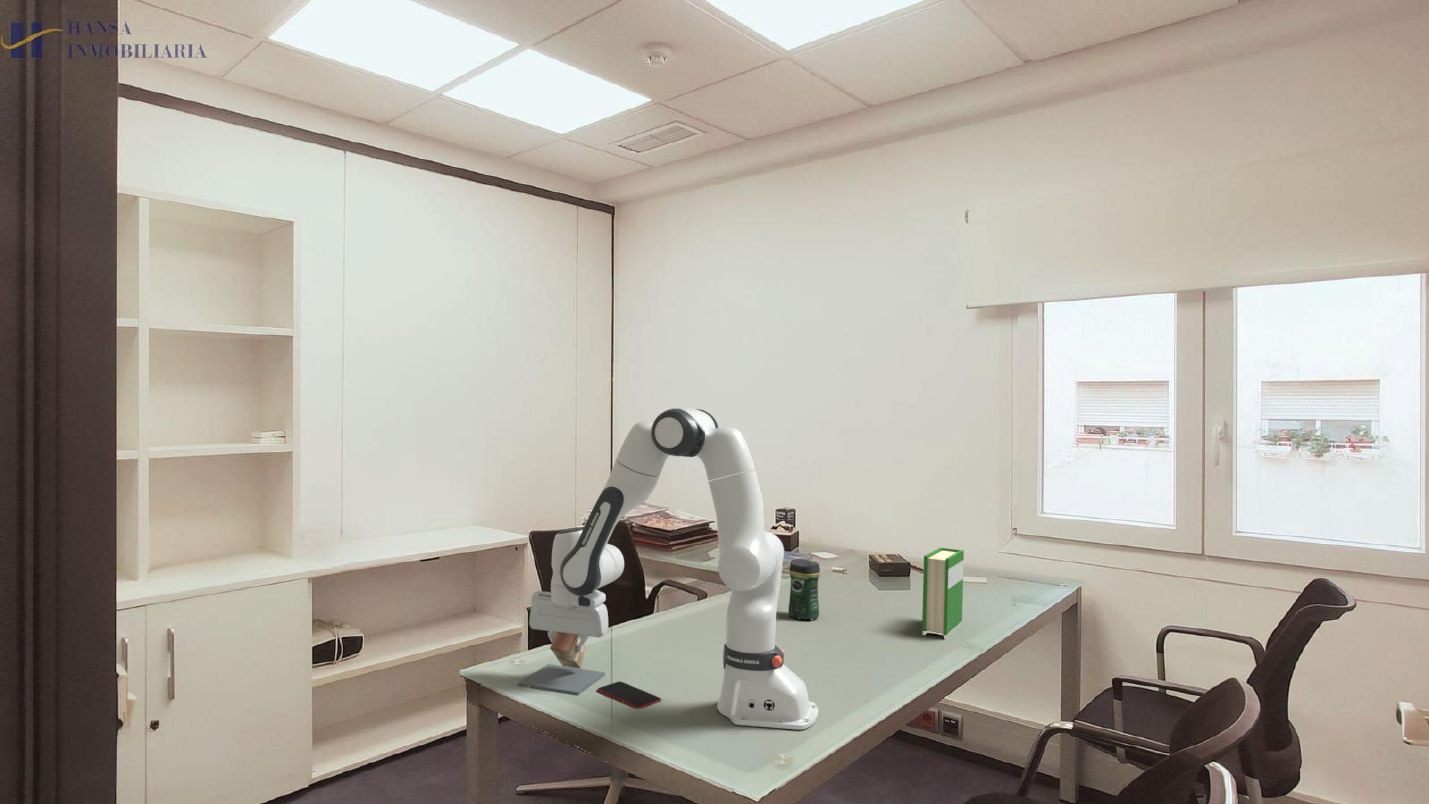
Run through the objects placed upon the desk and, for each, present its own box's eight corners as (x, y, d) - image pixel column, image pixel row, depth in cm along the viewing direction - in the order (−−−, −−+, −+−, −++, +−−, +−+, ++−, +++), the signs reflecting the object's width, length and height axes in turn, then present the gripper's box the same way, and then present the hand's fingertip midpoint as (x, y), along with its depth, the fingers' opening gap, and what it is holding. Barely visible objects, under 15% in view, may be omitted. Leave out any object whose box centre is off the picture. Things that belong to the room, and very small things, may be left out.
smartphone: (638, 707, 167) (595, 688, 177) (638, 711, 167) (595, 692, 177) (662, 698, 172) (619, 680, 183) (662, 702, 172) (619, 684, 183)
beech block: (587, 649, 190) (575, 631, 184) (580, 668, 187) (568, 650, 181) (569, 647, 192) (557, 629, 186) (562, 666, 188) (550, 648, 182)
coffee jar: (823, 618, 243) (824, 561, 243) (807, 622, 238) (808, 564, 238) (799, 612, 250) (801, 556, 250) (784, 616, 245) (785, 558, 245)
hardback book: (946, 639, 224) (948, 559, 224) (921, 635, 228) (923, 556, 228) (961, 626, 239) (963, 550, 239) (938, 621, 243) (940, 547, 243)
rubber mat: (605, 674, 188) (605, 672, 188) (578, 694, 174) (578, 692, 174) (548, 666, 193) (548, 663, 193) (517, 685, 179) (518, 682, 179)
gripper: (525, 592, 186) (523, 649, 186) (600, 601, 179) (598, 659, 179) (538, 587, 192) (537, 641, 192) (611, 595, 185) (610, 651, 185)
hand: (567, 650), depth 185 cm, fingers closed on beech block, 5 cm apart
